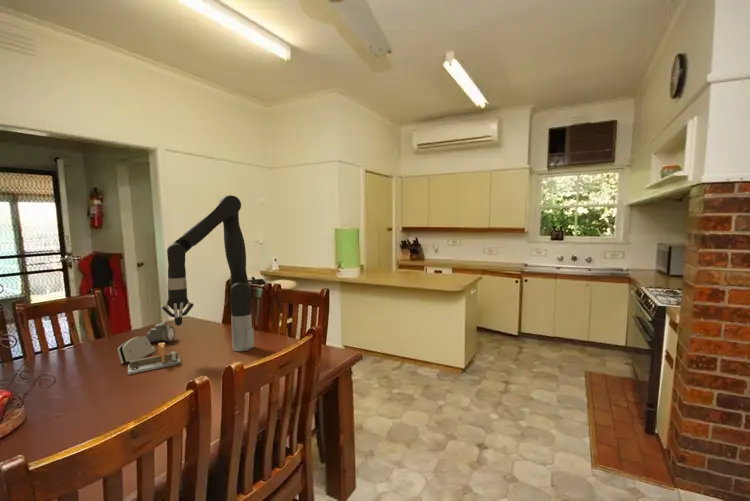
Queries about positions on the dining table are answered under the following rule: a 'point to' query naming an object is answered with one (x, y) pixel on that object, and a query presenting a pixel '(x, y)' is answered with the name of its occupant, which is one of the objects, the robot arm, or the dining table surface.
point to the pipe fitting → (161, 333)
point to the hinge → (135, 349)
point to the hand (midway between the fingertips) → (178, 325)
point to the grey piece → (153, 363)
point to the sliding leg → (162, 350)
